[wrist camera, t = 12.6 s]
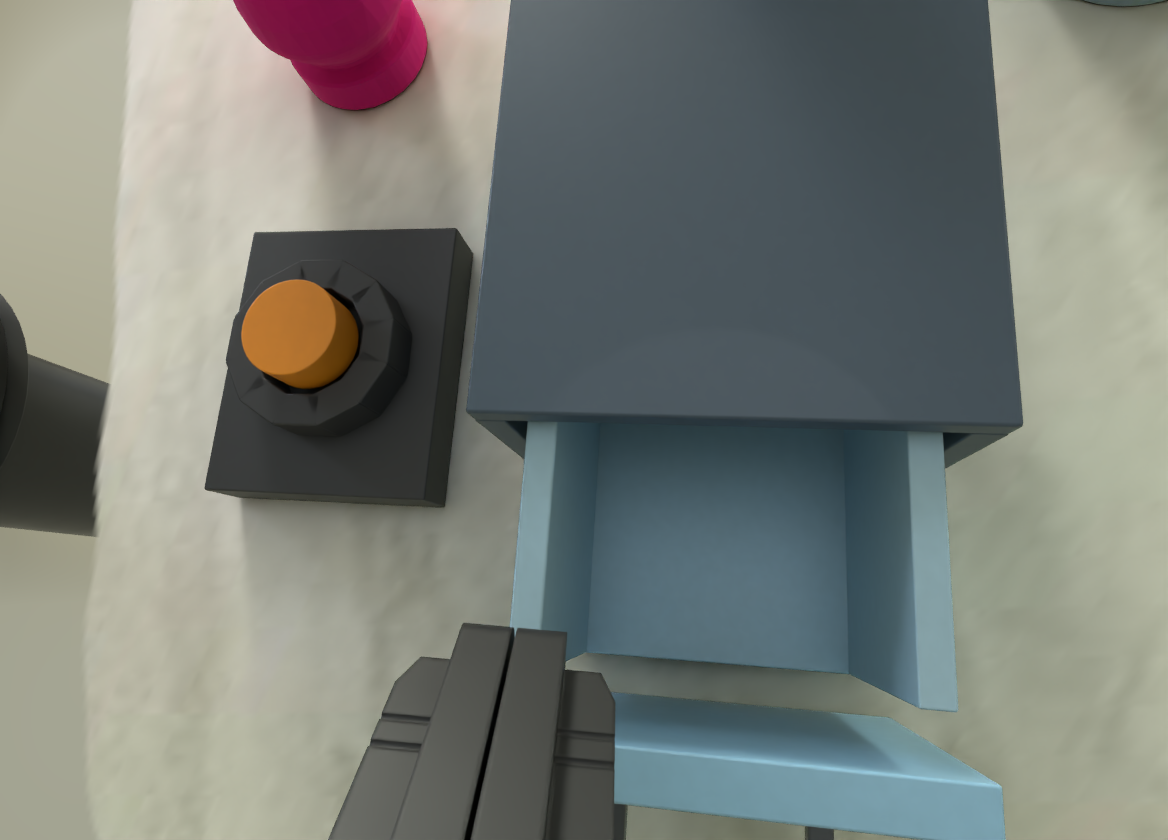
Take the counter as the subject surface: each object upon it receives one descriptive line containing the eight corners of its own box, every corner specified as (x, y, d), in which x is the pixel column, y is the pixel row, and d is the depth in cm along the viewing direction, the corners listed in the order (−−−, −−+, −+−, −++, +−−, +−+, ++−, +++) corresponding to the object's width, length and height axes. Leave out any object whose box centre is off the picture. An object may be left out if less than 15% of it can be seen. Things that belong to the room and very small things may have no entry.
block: (238, 497, 29) (169, 482, 26) (282, 255, 32) (226, 208, 28) (445, 507, 28) (404, 493, 24) (473, 253, 30) (441, 203, 27)
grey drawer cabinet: (894, 496, 25) (1025, 426, 15) (551, 482, 27) (464, 412, 17) (881, 140, 29) (980, -111, 19) (577, 151, 31) (517, -68, 21)
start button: (262, 388, 26) (232, 374, 25) (278, 299, 27) (250, 279, 26) (351, 390, 26) (327, 375, 24) (365, 298, 27) (343, 278, 25)
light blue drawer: (898, 925, 21) (1027, 1134, 13) (532, 874, 23) (439, 1029, 15) (878, 356, 26) (965, 238, 17) (571, 353, 28) (515, 245, 19)
